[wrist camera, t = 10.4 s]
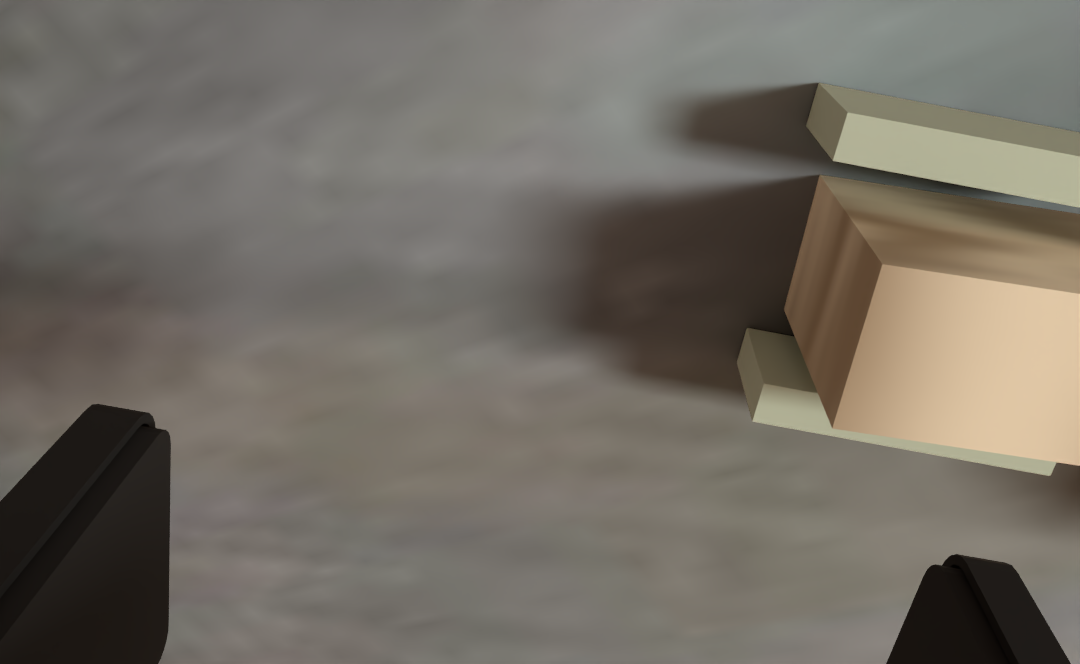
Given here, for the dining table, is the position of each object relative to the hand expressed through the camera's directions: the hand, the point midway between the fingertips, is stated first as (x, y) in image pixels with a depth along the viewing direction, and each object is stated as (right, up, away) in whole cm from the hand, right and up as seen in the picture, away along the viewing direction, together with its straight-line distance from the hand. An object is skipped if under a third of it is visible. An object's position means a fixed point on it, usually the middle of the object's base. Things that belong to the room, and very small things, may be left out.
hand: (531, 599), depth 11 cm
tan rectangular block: (+13, +4, +14) cm, 20 cm away
